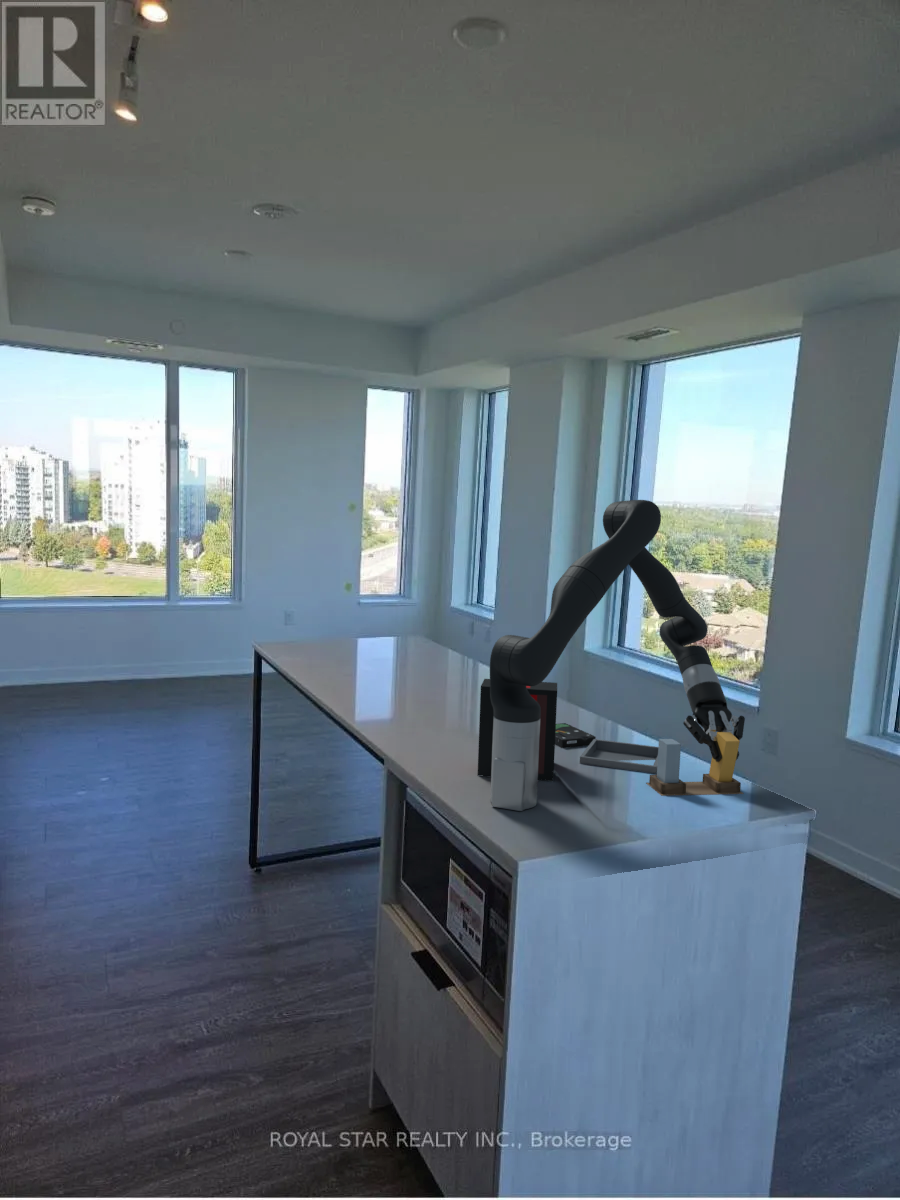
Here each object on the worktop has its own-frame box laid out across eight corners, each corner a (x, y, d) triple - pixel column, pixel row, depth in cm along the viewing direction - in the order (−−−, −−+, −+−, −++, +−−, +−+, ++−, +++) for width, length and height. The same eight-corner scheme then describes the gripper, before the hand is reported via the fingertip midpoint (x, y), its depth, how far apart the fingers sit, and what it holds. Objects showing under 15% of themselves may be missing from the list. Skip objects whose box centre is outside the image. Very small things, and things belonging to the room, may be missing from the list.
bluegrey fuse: (678, 791, 160) (680, 744, 159) (664, 792, 159) (667, 744, 158) (669, 785, 164) (672, 738, 163) (656, 785, 163) (658, 739, 162)
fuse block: (743, 800, 160) (744, 784, 160) (661, 802, 157) (662, 785, 157) (724, 787, 168) (725, 772, 168) (645, 789, 165) (646, 773, 165)
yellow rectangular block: (731, 784, 162) (739, 741, 159) (717, 784, 161) (726, 741, 158) (721, 774, 166) (730, 732, 163) (708, 774, 165) (716, 732, 162)
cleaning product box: (553, 769, 178) (557, 682, 176) (553, 781, 169) (557, 690, 167) (481, 763, 180) (484, 678, 178) (477, 775, 171) (480, 686, 169)
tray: (655, 780, 172) (656, 766, 171) (579, 769, 178) (579, 756, 177) (663, 759, 187) (664, 747, 187) (593, 750, 194) (594, 738, 193)
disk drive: (596, 747, 199) (564, 732, 213) (596, 736, 199) (565, 722, 212) (561, 750, 195) (531, 734, 208) (562, 739, 195) (532, 724, 208)
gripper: (679, 679, 168) (702, 751, 157) (739, 680, 170) (766, 750, 159) (667, 698, 173) (689, 769, 162) (726, 698, 176) (751, 768, 165)
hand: (727, 759), depth 161 cm, fingers closed on yellow rectangular block, 2 cm apart
